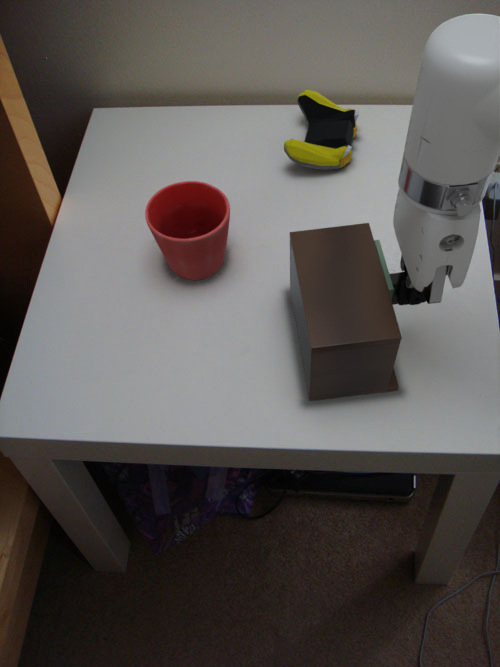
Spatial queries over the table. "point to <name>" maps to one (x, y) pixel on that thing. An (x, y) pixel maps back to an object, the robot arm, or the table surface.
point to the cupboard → (342, 313)
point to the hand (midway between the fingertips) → (410, 298)
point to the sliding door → (387, 274)
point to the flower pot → (190, 227)
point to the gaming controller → (323, 133)
